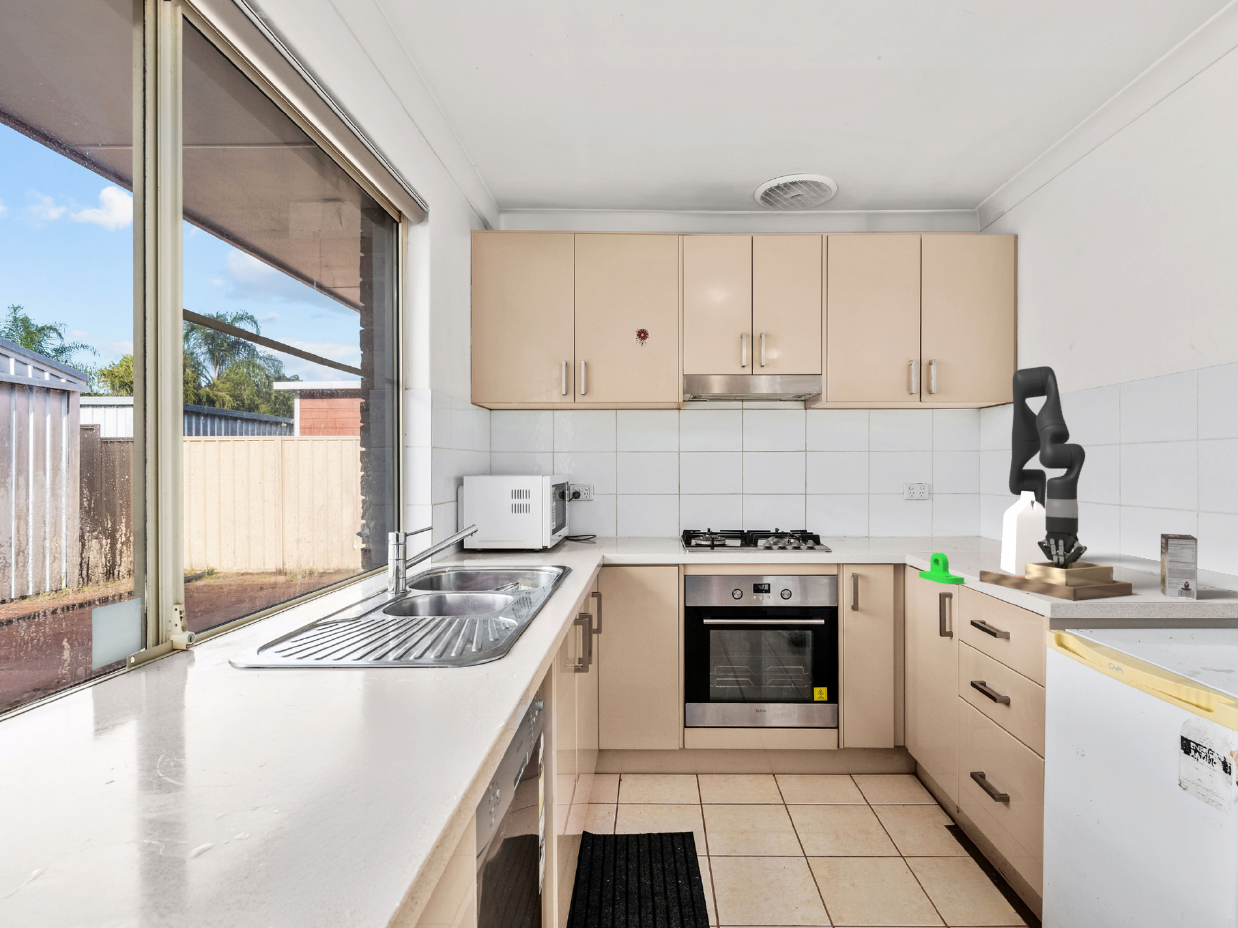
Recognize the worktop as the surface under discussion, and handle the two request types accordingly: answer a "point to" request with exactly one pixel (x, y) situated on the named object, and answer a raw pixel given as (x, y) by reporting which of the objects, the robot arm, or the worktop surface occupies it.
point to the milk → (1023, 534)
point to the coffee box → (1179, 565)
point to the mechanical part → (940, 571)
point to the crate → (1070, 574)
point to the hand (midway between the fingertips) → (1061, 577)
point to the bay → (1058, 587)
